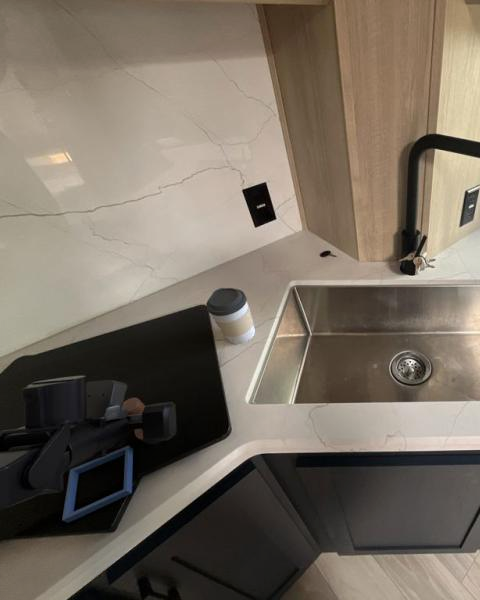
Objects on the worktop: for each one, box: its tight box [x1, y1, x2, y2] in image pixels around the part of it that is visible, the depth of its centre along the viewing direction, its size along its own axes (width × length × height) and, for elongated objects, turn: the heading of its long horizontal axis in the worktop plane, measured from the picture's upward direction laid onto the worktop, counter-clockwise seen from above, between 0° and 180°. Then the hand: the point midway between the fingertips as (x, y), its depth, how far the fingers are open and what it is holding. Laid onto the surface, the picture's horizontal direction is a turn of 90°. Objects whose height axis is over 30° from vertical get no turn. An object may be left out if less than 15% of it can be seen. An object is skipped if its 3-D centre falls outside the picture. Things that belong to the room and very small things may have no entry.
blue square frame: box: [61, 445, 134, 524], centre depth 59 cm, size 9×9×2 cm
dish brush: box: [121, 397, 162, 446], centre depth 63 cm, size 6×6×12 cm
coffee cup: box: [205, 287, 256, 345], centre depth 83 cm, size 9×9×15 cm
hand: (147, 412), depth 64 cm, fingers open, 9 cm apart
